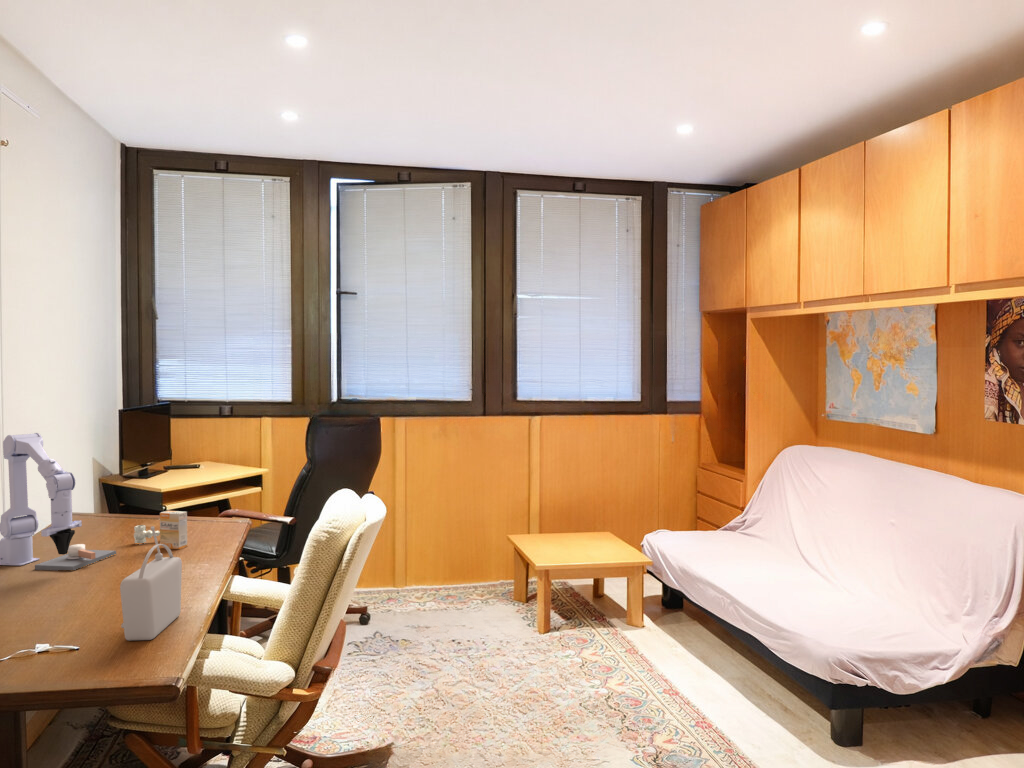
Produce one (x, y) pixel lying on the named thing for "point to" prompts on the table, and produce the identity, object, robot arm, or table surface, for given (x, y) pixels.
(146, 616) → the grey handbag
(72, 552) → the handle
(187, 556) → the table surface
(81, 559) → the base plate
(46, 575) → the table surface
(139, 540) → the valve
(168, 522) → the supplement box
